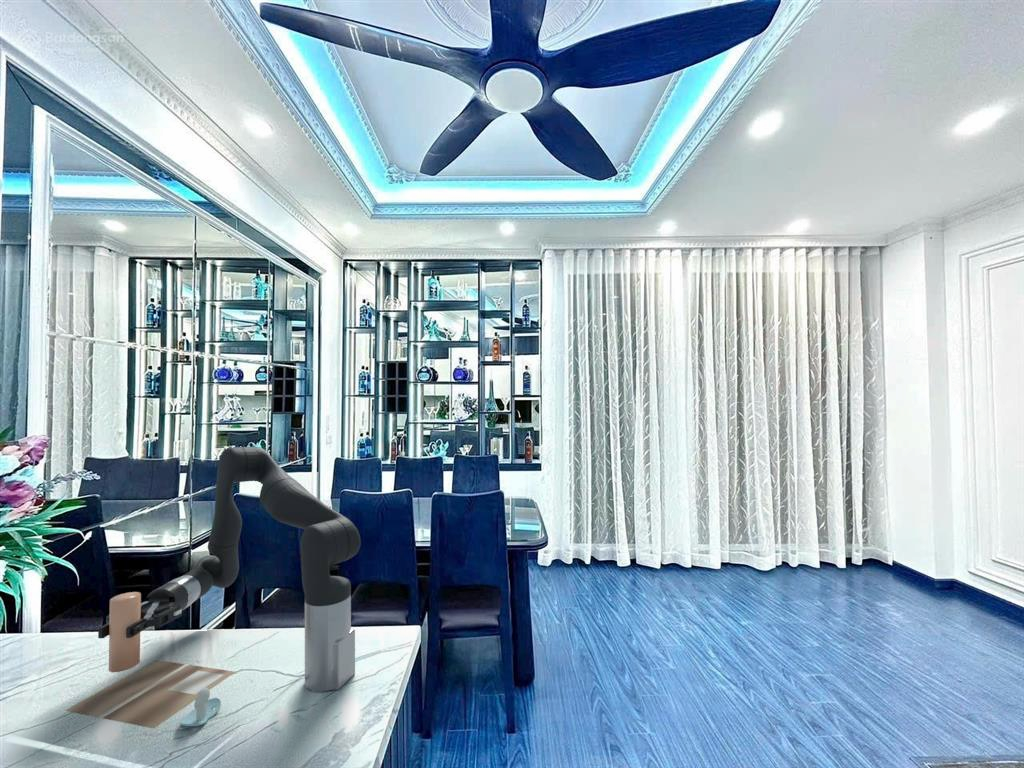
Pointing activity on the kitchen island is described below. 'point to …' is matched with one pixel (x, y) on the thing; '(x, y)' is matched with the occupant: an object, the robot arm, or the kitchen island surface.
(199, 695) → the pacifier
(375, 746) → the kitchen island surface
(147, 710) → the board
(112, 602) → the cylinder
